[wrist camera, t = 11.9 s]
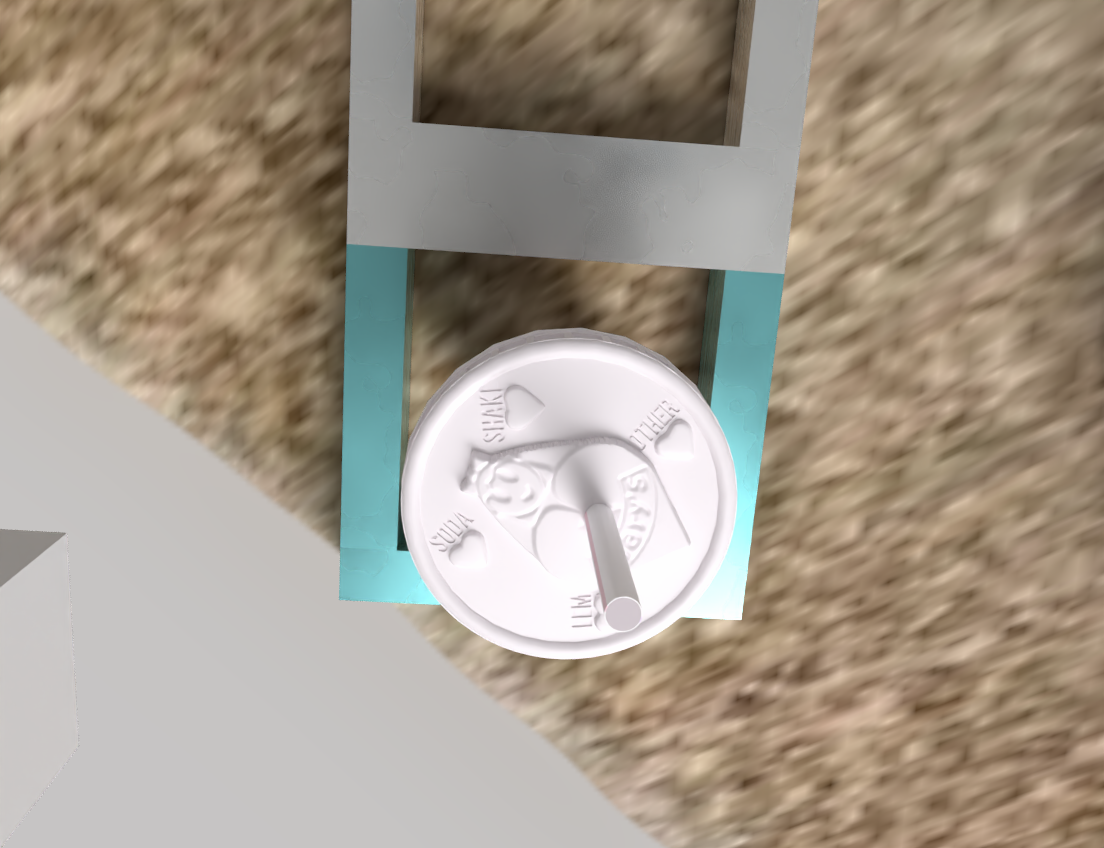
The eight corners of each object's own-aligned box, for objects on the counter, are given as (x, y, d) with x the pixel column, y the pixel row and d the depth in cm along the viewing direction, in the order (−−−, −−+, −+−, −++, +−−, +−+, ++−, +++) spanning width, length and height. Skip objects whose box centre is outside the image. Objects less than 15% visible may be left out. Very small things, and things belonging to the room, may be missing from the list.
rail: (371, -296, 24) (358, -338, 22) (827, -251, 24) (855, -289, 22) (350, 571, 29) (339, 599, 27) (725, 590, 29) (741, 620, 27)
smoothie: (618, 533, 29) (711, 848, 15) (406, 465, 28) (306, 731, 15) (698, 325, 27) (879, 468, 14) (477, 248, 27) (442, 318, 13)
